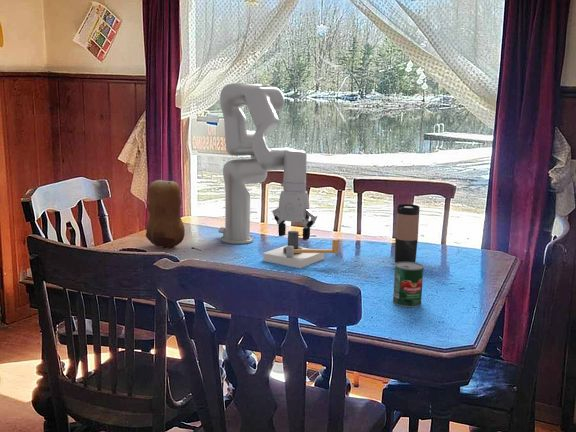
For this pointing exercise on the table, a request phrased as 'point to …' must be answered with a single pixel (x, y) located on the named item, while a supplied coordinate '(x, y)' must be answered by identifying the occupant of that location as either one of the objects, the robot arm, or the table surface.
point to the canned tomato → (408, 284)
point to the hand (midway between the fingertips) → (293, 237)
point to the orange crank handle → (291, 250)
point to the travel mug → (406, 233)
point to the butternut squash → (164, 214)
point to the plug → (293, 240)
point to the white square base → (292, 258)
